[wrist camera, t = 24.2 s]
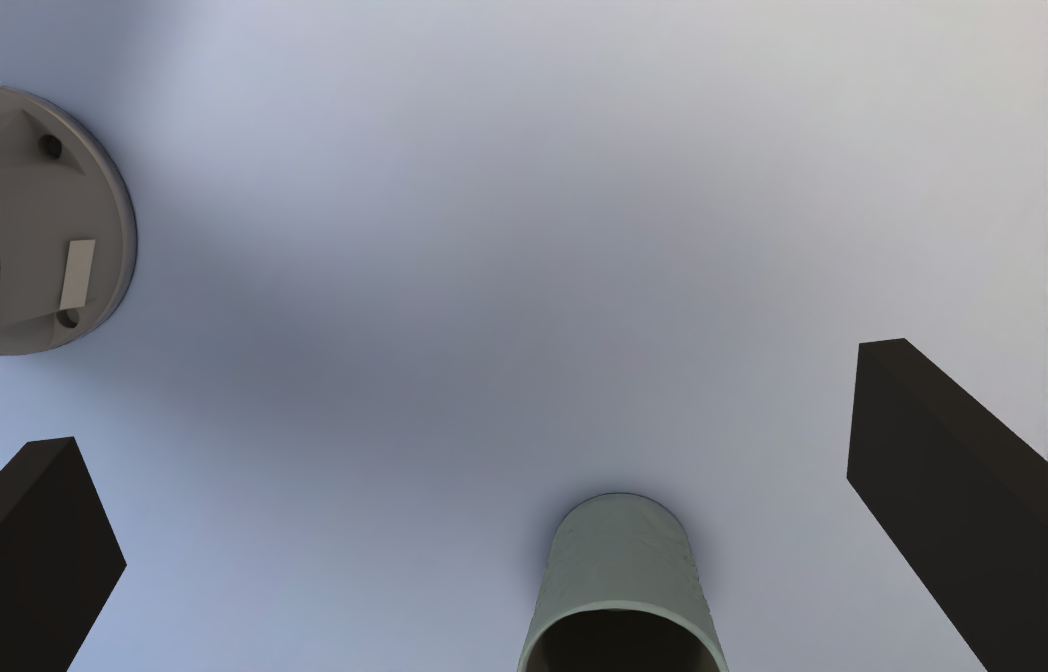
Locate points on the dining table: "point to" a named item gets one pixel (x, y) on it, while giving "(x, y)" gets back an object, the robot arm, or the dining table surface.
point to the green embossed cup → (621, 595)
